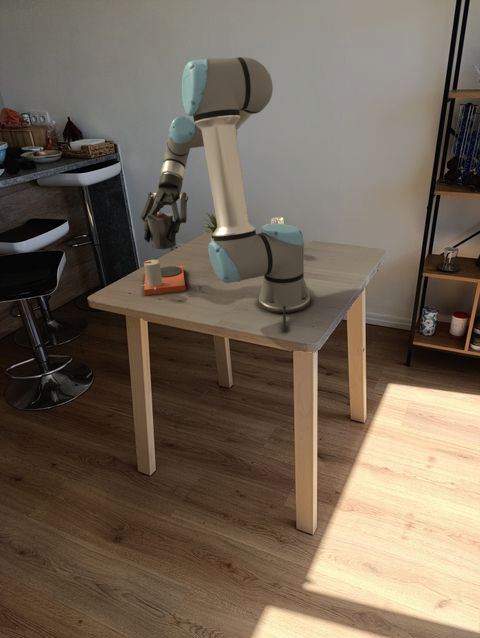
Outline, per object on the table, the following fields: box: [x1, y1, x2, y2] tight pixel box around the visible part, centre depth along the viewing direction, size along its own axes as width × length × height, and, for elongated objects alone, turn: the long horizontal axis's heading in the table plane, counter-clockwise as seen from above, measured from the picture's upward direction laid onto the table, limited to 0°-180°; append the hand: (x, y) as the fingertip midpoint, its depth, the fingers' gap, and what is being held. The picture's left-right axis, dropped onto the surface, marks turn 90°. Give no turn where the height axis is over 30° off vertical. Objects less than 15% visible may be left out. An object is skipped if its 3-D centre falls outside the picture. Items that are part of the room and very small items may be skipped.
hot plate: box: [141, 264, 187, 296], centre depth 162 cm, size 19×14×2 cm
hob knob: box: [143, 259, 163, 287], centre depth 154 cm, size 5×5×8 cm
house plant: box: [201, 211, 217, 242], centre depth 183 cm, size 14×14×16 cm
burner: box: [160, 265, 182, 277], centre depth 165 cm, size 9×9×1 cm
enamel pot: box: [147, 211, 177, 250], centre depth 157 cm, size 8×8×11 cm
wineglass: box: [269, 216, 286, 224], centre depth 182 cm, size 6×6×12 cm
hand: (159, 240), depth 156 cm, fingers closed on enamel pot, 8 cm apart
